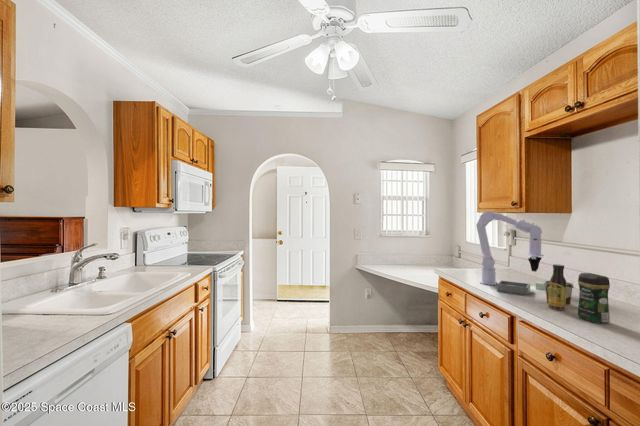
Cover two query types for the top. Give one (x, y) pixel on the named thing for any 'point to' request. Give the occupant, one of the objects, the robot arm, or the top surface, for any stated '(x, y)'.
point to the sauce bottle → (557, 288)
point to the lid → (538, 287)
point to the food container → (568, 291)
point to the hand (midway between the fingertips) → (534, 270)
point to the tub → (514, 287)
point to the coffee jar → (593, 298)
